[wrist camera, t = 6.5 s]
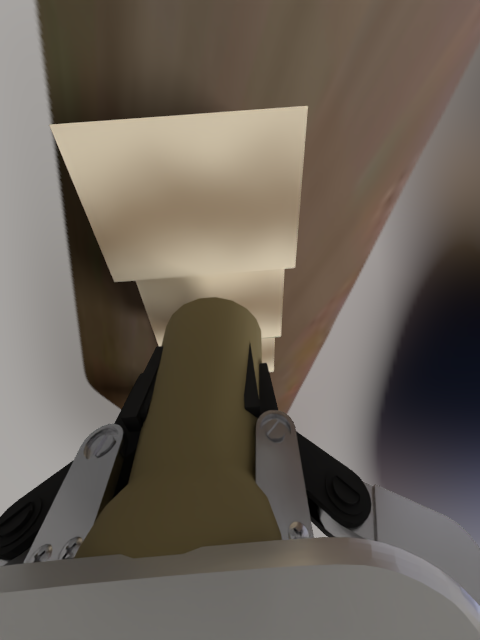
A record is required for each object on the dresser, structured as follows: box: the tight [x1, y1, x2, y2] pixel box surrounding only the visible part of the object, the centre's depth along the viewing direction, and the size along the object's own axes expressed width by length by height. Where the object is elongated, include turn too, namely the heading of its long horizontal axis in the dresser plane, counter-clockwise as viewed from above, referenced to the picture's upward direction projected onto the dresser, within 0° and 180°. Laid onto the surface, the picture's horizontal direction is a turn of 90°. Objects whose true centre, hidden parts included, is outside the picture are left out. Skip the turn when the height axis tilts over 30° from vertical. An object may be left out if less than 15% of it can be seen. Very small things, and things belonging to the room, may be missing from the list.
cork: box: [74, 297, 282, 559], centre depth 8 cm, size 6×6×11 cm
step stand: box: [49, 106, 308, 372], centre depth 17 cm, size 21×11×8 cm, turn 4°
